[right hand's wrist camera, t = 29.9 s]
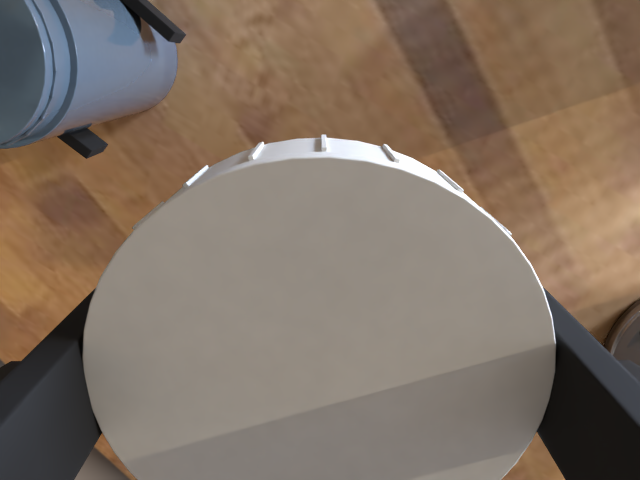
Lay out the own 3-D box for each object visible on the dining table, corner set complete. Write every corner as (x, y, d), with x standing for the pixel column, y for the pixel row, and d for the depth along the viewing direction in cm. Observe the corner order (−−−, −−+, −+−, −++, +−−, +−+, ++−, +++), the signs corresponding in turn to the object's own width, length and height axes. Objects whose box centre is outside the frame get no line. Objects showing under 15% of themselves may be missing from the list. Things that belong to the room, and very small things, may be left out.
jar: (52, -18, 35) (-215, -99, 17) (175, -6, 36) (37, -74, 18) (67, 108, 39) (-145, 148, 21) (179, 118, 39) (65, 165, 21)
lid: (399, 516, 15) (413, 595, 13) (80, 408, 13) (31, 478, 11) (596, 243, 12) (663, 285, 9) (198, 55, 10) (162, 51, 8)
